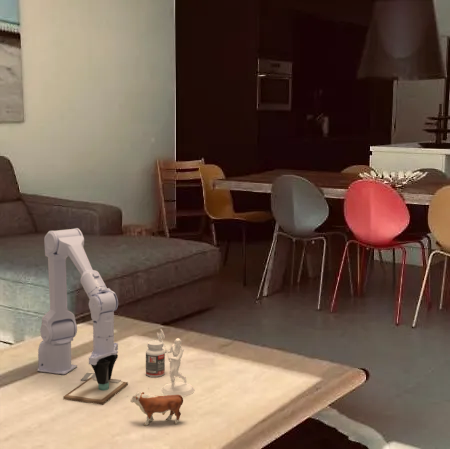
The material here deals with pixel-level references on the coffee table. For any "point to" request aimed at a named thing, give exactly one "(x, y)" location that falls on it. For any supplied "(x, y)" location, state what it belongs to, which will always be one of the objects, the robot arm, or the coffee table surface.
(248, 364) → the coffee table surface
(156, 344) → the pill bottle
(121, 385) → the brown picture frame
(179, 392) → the figurine
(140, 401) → the bull figurine
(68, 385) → the coffee table surface
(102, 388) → the marker
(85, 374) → the grey slotted plate
